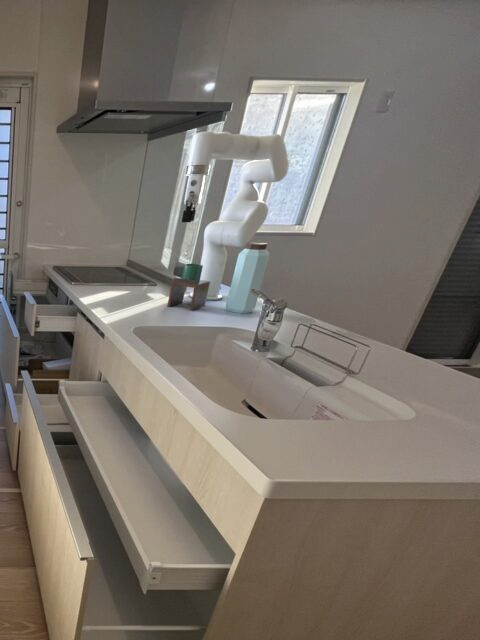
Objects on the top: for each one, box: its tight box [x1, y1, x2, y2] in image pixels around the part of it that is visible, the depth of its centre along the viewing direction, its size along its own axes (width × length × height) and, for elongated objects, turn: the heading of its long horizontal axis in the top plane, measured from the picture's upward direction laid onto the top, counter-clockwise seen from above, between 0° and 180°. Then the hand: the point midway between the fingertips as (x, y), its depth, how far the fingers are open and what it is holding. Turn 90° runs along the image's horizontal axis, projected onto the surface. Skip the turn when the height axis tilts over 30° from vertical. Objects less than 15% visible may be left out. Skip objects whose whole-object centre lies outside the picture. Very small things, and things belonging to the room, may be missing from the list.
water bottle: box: [225, 242, 270, 314], centre depth 155 cm, size 10×10×25 cm
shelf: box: [166, 277, 210, 311], centre depth 165 cm, size 11×10×12 cm
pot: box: [181, 263, 203, 283], centre depth 162 cm, size 7×7×6 cm
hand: (187, 221), depth 157 cm, fingers open, 9 cm apart
